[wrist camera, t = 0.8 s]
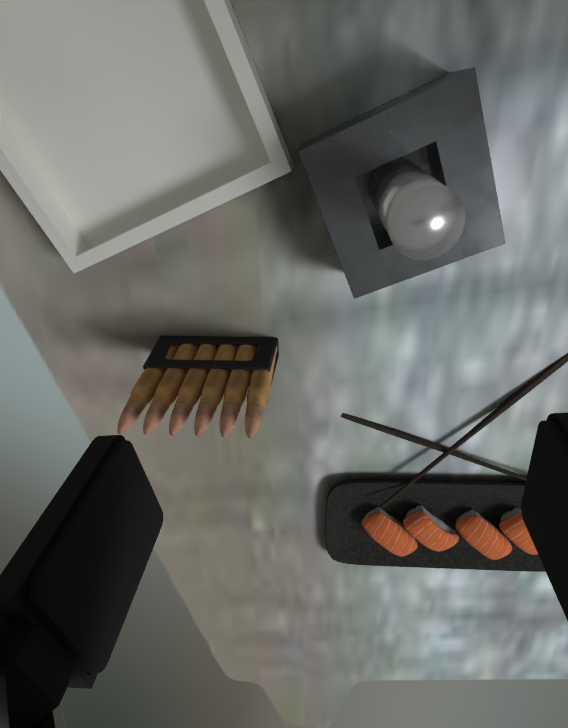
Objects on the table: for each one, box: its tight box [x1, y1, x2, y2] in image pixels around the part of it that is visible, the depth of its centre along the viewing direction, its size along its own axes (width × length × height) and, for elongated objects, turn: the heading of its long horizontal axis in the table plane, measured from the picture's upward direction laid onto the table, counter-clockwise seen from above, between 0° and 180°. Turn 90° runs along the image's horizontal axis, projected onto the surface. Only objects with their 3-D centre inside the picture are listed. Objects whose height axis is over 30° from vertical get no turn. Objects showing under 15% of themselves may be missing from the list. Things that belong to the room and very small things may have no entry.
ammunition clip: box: [118, 336, 279, 438], centre depth 33 cm, size 11×2×12 cm, turn 91°
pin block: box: [299, 67, 505, 298], centre depth 28 cm, size 10×10×5 cm
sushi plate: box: [326, 354, 568, 571], centre depth 43 cm, size 29×30×4 cm
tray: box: [0, 0, 294, 273], centre depth 27 cm, size 18×18×3 cm
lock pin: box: [369, 159, 465, 260], centre depth 25 cm, size 4×4×10 cm
